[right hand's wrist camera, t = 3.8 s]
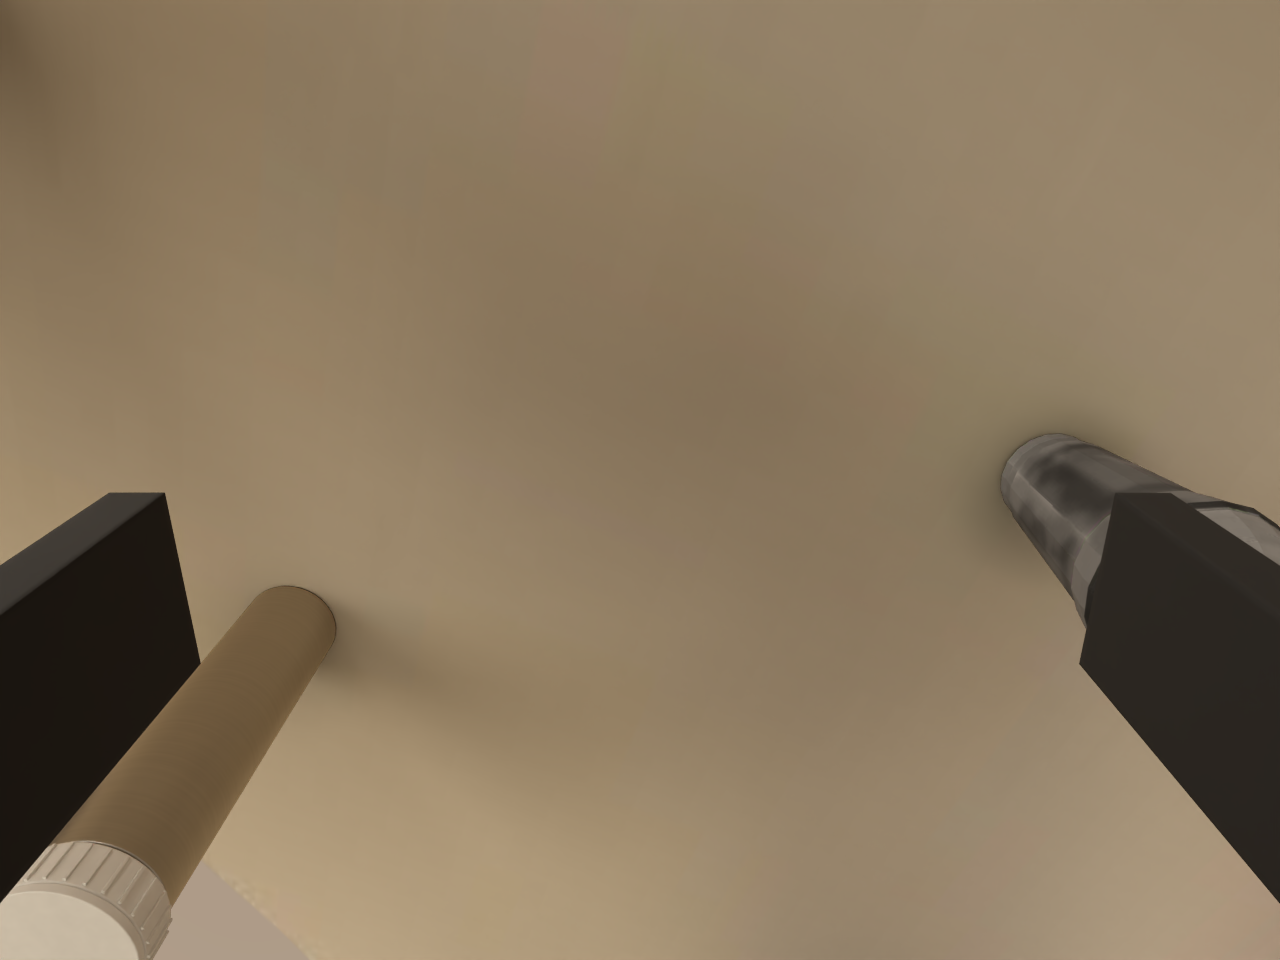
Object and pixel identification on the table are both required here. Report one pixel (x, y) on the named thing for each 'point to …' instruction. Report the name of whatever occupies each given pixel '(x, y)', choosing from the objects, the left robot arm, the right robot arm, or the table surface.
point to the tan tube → (208, 739)
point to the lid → (84, 907)
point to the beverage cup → (1099, 507)
